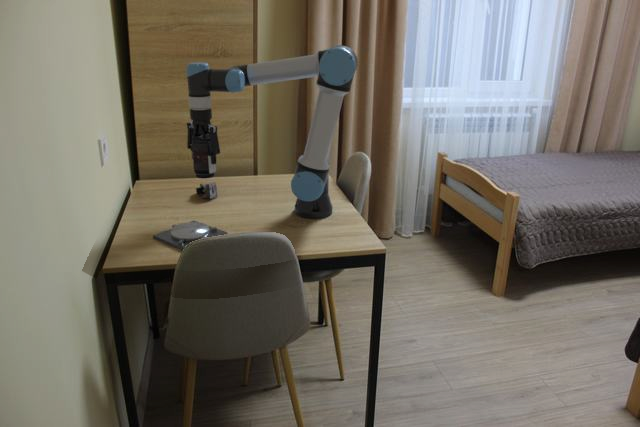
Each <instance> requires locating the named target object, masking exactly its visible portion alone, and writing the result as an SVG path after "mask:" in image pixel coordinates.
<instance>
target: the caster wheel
mask: <svg viewBox="0 0 640 427" xmlns="http://www.w3.org/2000/svg"><path fill="white" fill-rule="evenodd" d="M217 188H218V187H217V182H216V181H214V182H213V181H211V182H207V183H199V187H196V188H195V190H196V191H195V192H196V195H200V197H202V198H201V199H210V200H211V199H217V198H218V189H217Z"/></svg>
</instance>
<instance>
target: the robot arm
mask: <svg viewBox="0 0 640 427" xmlns="http://www.w3.org/2000/svg"><path fill="white" fill-rule="evenodd" d="M357 69H358V57H357V55H356V52H355V51H354V50H353V49H352V48H351V47H349V46H346V45H336V46H331V47H330V48H328V49H323V50H318V51H317V52H316V53H315V54H309V55H303V56H298V57H297V56H296V57H290V58H283V59H276V60H270V61H263V62H257V63H249V64H242V65H234V66H232V67H229V68H223V69H221V68H220V69H219V68H218V69H216V68H214V69H213V68H210V66H209V63H207V62H189V63H187V65H186V80H187V81H186V82H187V92H188V106H189V108H190V109H189V114H190V115H189V116H190V118H189V119H190V120H192V121H189V122H186V126H187V138H186V140H187V142H186V144H187V145H186V146H187V149H188V150H190V151H191V156H192V155H193V151H192V136H201V135H202V137H203V138H205V139H207V138H210V139H211V142H209V141H208V140H207V143H208V151H209V155H208V162H209V173H214V174H215V173H216V172H217V165H216V164H217V155H219V154H221V148H220V142H219V137H218V126H216V125H212V123H211V120H212V118H213V114H212V113H213V112H212V108H211V107H212V100H211V92H222V93H233V94H234V93H241V92H243V91H244V89H245V87H250V86H255V85H263V84H272V83H280V82H285V81H286V82H287V81H292V80H301V79H308V78H316V77H317V79H316V84H315V85H316V87H318V90H319V91H318V93H317V94H318V95H317V98H316V102H315V106H314V110H313V114H312V115H313V116H312V119H311V122H310V123H311V124H310V127H309V131H308V136H307V140H306V144H305V147H304V152H303V154H302V155H300V156H299V158H298V159H297V163H296V167H295V171H294V175H293V176H292V178H291V180H290V188H291V192H292V193H293V195H294V196H295V197H296V201H295V204H294V214H296V215H297V216H298V217H301V218H305V219H307V218H308V219H322V218H326V217H329V216H330V215H332V214H333V204H332V202H331V198H330V195H329V189H330V188H329V182H330V181H329V180H330V177H329V174H330V165H331V163H330V159H329V154H330V151H331V147H332V142H333V139H334V135H335V131H336V127H337V123H338V119H339V116H340V112H341V109H342V104H343V100H344V96H346V95H347V94H349V93H350V91H351V88H352V84H353V80H354V77H355V73H356V71H357ZM212 151H213V152H212Z"/></svg>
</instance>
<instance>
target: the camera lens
mask: <svg viewBox="0 0 640 427" xmlns="http://www.w3.org/2000/svg"><path fill="white" fill-rule="evenodd" d="M207 140H208V141H209V142H211V139H210V138H207V139H205V138H203V137H202V135H201V136H192V151H193V155H192V154H191V158H192V161H193V170H194V173H195V177H196V178H198V179H201V180H202V179H211V178H213V177H214V176H215V172H214V173H209V162H208V155H209V151H208V143H207ZM192 151H191V152H192ZM212 152H213V151H212Z"/></svg>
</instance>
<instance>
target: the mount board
mask: <svg viewBox="0 0 640 427" xmlns="http://www.w3.org/2000/svg"><path fill="white" fill-rule="evenodd" d="M171 227H172V228H169V229H167V230H164V231H160V232H158V233H155V234H152V239H153V240H156V241H158V242H161V243H163V244H166V245H167V246H170V247H172V248H175V249H176V250H177V249H178V250H180V251H182V250H183V249H184V248H185V246H186V245H188V244H189V243H190V242H192V241H195V240H198V239H201V238H206V237H212V236H218V235H224V234H227V235H228V232H227V231H224V230H222V229H219V228H218V227H216V226H210V225H208V224H206V223H203V222H199V221H196V220H191V221H188V222H183V223H179V224H172V225H171Z"/></svg>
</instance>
